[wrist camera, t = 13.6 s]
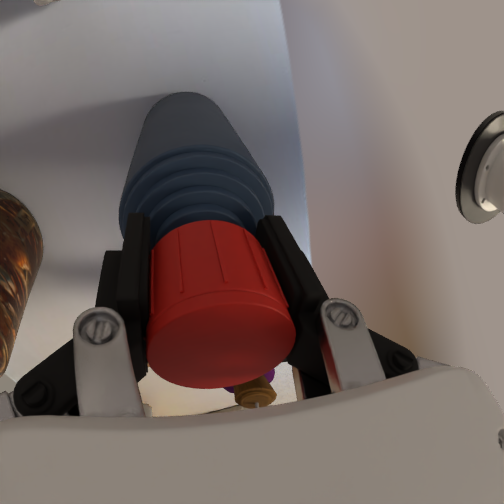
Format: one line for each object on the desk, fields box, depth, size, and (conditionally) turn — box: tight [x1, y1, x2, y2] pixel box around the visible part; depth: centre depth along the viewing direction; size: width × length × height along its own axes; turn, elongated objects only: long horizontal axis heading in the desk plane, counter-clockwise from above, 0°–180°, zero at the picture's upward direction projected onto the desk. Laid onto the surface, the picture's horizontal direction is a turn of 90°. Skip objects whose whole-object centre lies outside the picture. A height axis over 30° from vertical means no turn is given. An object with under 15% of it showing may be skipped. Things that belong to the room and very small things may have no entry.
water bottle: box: [119, 92, 274, 250], centre depth 15 cm, size 6×6×18 cm
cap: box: [143, 220, 296, 389], centre depth 9 cm, size 4×4×3 cm
